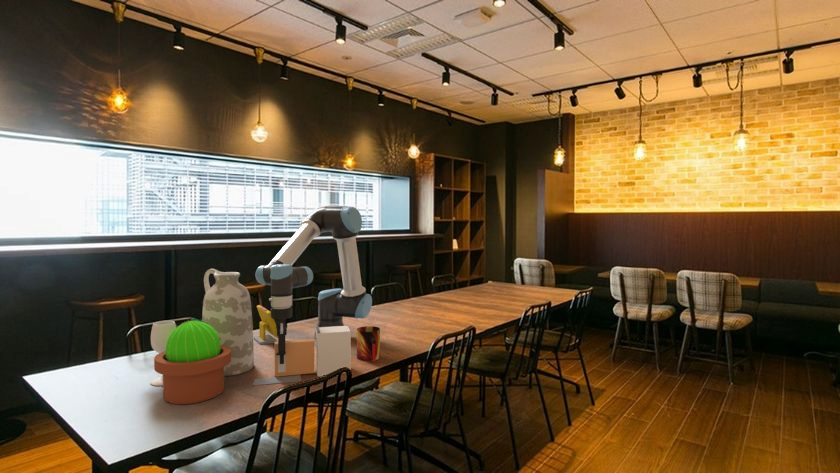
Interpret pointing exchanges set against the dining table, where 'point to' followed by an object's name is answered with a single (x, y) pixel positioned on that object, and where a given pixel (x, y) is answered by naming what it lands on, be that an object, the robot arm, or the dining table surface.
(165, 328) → the wineglass
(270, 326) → the toy computer monitor
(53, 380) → the dining table surface
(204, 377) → the potted cactus
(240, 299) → the vase
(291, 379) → the pad
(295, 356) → the peach cardboard box
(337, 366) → the white tall block
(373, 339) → the mug
